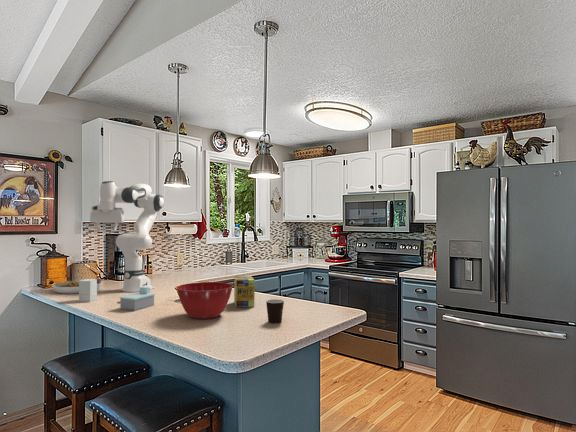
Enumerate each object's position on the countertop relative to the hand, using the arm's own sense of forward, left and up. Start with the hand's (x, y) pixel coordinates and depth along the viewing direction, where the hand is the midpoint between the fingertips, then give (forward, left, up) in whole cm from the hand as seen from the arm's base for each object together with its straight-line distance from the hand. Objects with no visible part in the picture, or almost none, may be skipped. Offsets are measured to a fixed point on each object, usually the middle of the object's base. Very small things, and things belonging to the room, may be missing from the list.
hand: (107, 230), depth 238 cm
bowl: (-17, -44, -43) cm, 64 cm away
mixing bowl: (+8, +76, -43) cm, 88 cm away
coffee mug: (+3, +114, -43) cm, 122 cm away
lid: (+7, +31, -36) cm, 48 cm away
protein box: (-23, +82, -43) cm, 95 cm away
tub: (+7, +31, -42) cm, 53 cm away
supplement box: (+5, -9, -43) cm, 44 cm away
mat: (-4, +18, -42) cm, 46 cm away
